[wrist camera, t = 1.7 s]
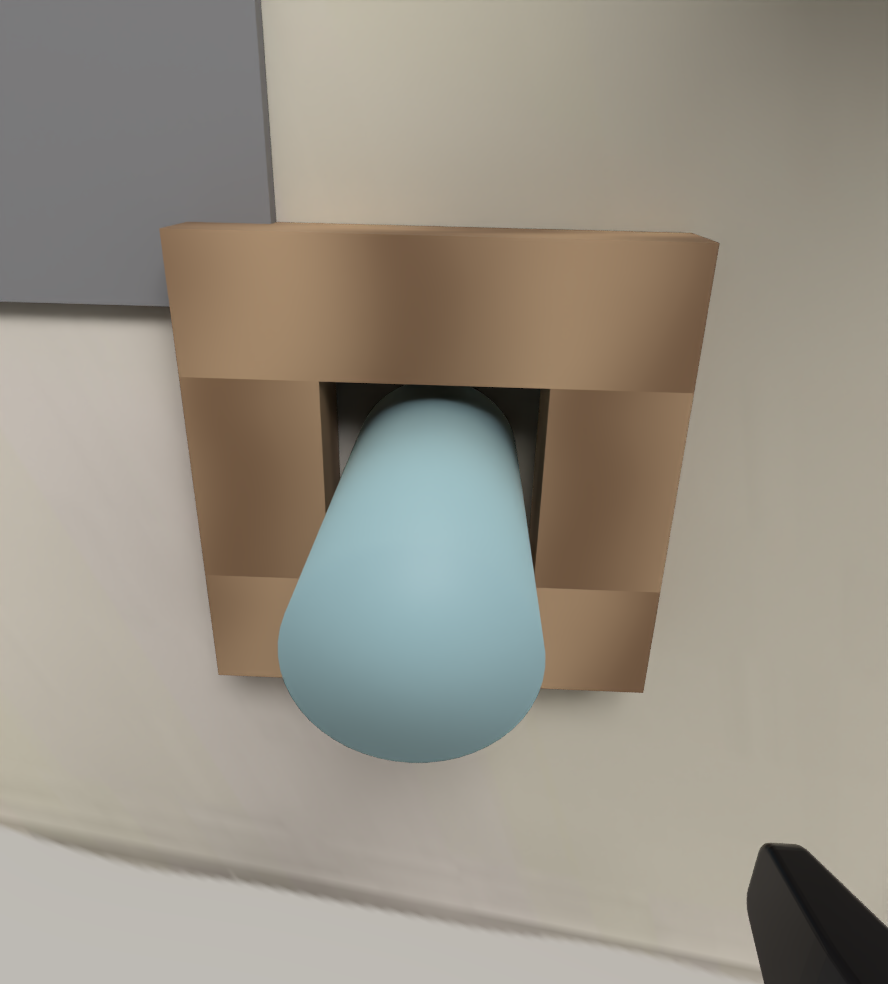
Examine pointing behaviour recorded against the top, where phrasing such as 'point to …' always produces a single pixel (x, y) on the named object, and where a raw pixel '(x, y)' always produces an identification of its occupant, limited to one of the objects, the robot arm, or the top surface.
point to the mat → (124, 140)
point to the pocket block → (441, 361)
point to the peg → (419, 586)
